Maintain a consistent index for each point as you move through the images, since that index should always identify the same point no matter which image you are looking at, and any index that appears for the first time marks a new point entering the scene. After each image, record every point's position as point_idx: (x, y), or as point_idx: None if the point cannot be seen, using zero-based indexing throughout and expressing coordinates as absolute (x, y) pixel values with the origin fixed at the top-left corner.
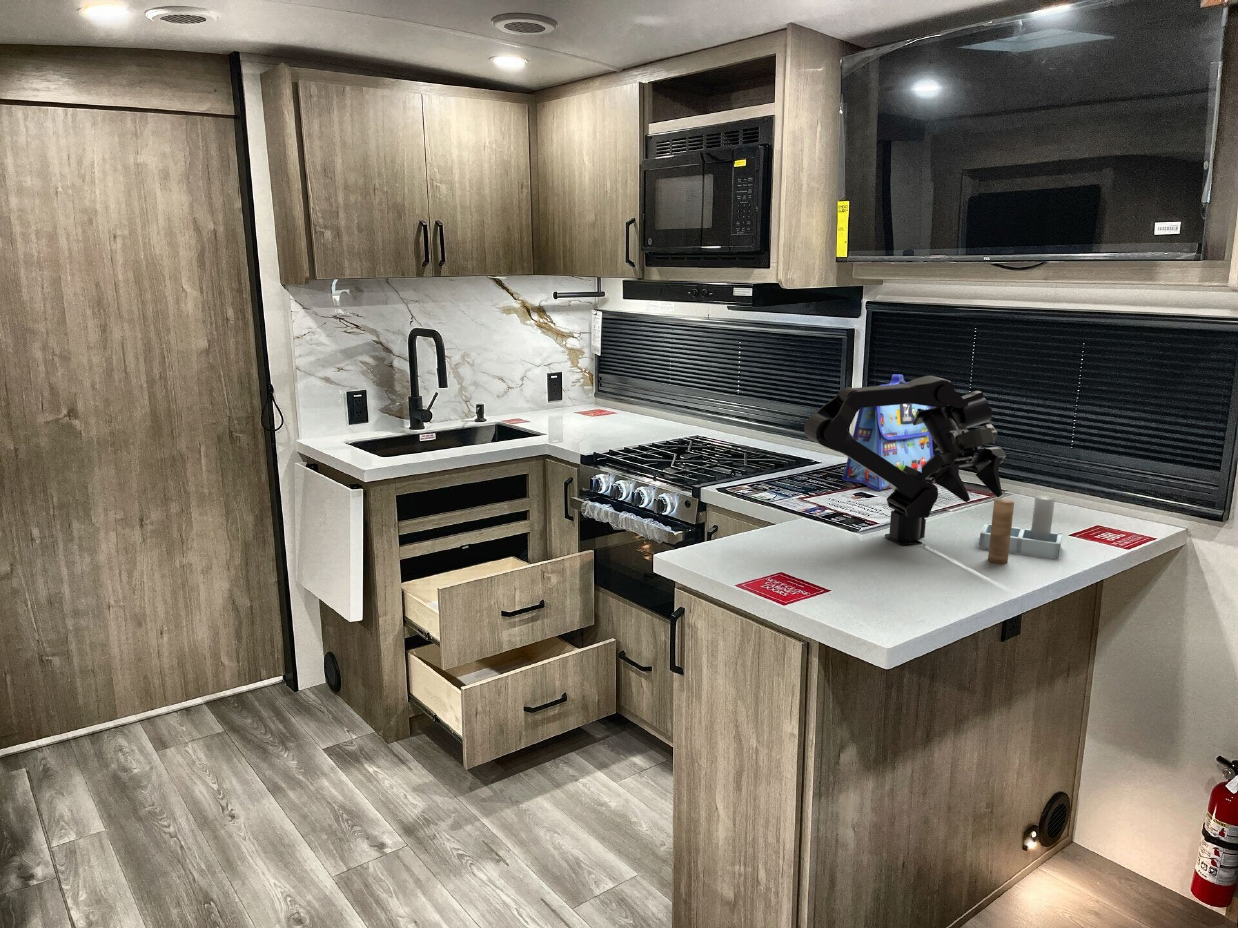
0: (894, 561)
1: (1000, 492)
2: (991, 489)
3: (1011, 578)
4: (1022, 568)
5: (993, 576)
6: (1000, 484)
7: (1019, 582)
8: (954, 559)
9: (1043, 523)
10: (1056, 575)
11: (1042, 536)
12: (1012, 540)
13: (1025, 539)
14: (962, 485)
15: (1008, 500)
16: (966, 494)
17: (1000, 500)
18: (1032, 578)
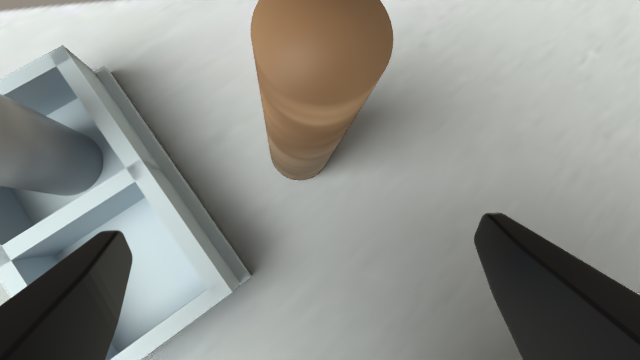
0: None
1: (108, 239)
2: (99, 349)
3: None
4: (255, 95)
5: (388, 89)
6: (10, 298)
7: None
8: (384, 247)
9: (8, 99)
10: (214, 13)
11: (53, 120)
12: (163, 188)
13: (133, 146)
14: (611, 297)
15: (277, 30)
16: (533, 235)
17: (333, 58)
18: None
